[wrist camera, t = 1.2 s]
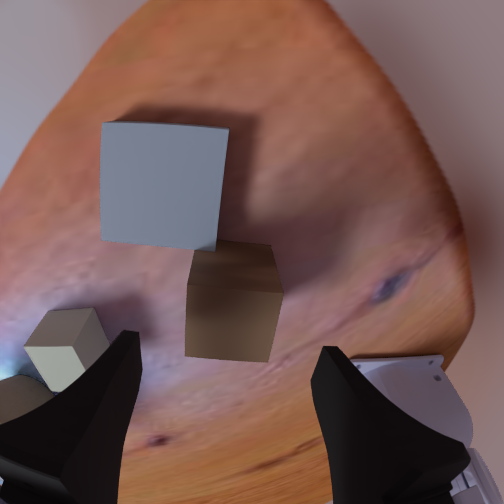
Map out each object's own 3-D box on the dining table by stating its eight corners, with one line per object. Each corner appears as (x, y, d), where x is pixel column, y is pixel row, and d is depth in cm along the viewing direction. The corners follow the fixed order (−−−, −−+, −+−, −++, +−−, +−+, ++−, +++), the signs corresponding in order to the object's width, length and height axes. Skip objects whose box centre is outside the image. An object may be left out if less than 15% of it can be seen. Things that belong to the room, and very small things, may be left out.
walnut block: (270, 245, 18) (284, 293, 13) (259, 305, 20) (267, 362, 15) (197, 237, 18) (187, 284, 13) (193, 299, 19) (184, 356, 15)
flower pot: (85, 385, 22) (59, 455, 16) (78, 437, 26) (62, 492, 19) (-12, 334, 20) (-52, 390, 13) (-2, 397, 23) (-27, 445, 17)
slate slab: (229, 127, 16) (229, 129, 14) (216, 236, 18) (215, 251, 16) (116, 120, 15) (102, 122, 13) (113, 226, 17) (101, 240, 16)
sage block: (94, 306, 19) (72, 346, 15) (114, 352, 21) (99, 393, 17) (48, 310, 19) (23, 346, 15) (70, 353, 21) (51, 391, 17)
